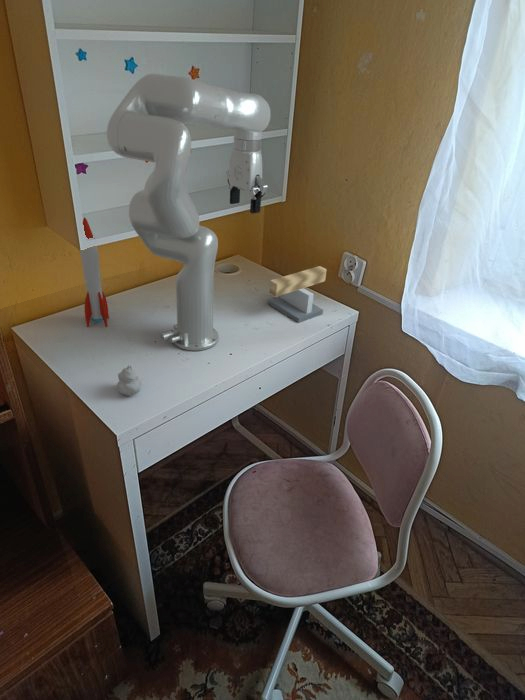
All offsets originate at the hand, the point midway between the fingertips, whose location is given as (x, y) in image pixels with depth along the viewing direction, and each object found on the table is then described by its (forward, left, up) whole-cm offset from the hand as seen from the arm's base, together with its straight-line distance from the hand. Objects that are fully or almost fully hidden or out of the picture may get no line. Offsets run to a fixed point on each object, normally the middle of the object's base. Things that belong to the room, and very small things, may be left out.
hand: (244, 208), depth 144 cm
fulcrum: (+9, -16, -28) cm, 34 cm away
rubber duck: (-51, -25, -29) cm, 64 cm away
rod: (+9, -16, -21) cm, 28 cm away
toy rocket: (-44, +8, -28) cm, 53 cm away
